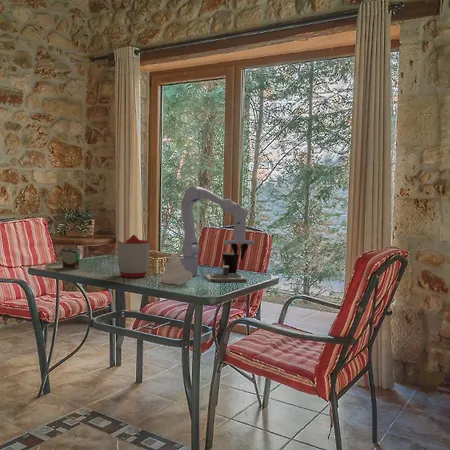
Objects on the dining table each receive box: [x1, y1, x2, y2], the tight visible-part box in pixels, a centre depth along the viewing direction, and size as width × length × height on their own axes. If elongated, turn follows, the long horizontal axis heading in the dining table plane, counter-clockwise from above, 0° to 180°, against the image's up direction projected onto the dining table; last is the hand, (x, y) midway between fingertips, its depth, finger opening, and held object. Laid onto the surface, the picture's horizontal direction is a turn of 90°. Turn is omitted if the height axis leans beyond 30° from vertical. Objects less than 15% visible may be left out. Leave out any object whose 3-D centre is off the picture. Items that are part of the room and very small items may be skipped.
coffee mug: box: [221, 252, 240, 273], centre depth 263 cm, size 12×9×10 cm
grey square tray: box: [204, 273, 247, 283], centre depth 243 cm, size 16×17×1 cm
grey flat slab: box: [204, 272, 247, 282], centre depth 243 cm, size 18×12×2 cm, turn 102°
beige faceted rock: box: [160, 252, 193, 286], centre depth 230 cm, size 12×15×14 cm
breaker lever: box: [221, 265, 230, 275], centre depth 243 cm, size 4×3×5 cm
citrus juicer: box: [116, 234, 151, 279], centre depth 244 cm, size 16×17×20 cm
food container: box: [60, 247, 82, 270], centre depth 263 cm, size 12×6×10 cm, turn 58°
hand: (239, 259), depth 244 cm, fingers closed
